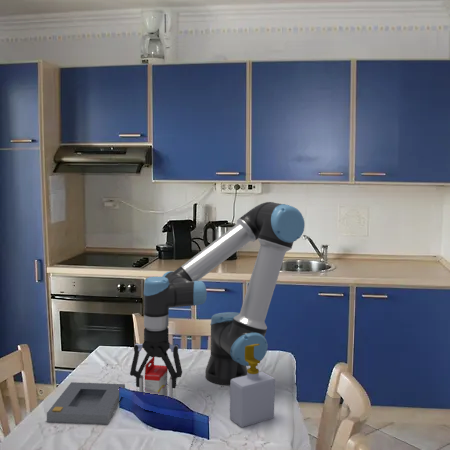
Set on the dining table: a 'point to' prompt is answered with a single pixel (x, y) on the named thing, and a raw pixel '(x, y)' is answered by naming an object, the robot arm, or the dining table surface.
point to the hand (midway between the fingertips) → (156, 397)
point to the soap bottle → (252, 394)
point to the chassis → (86, 403)
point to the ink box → (155, 378)
